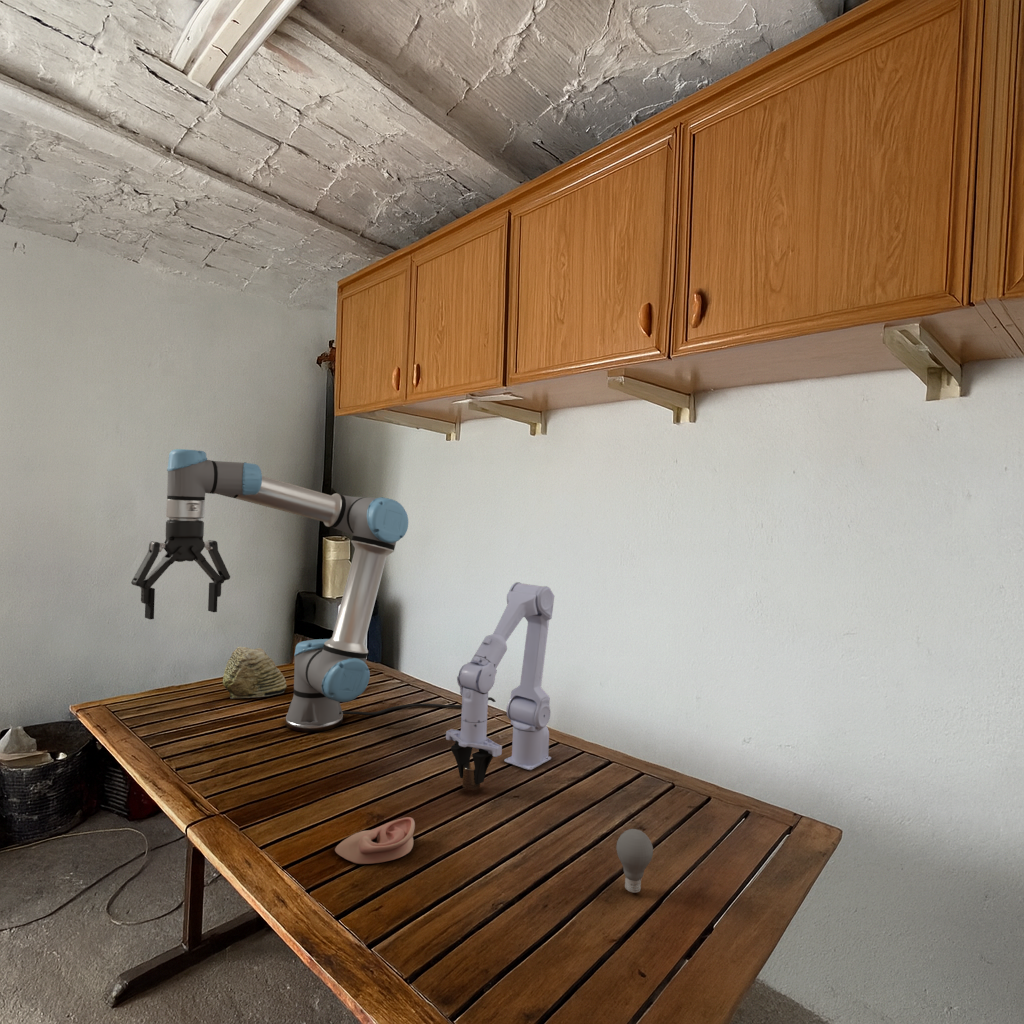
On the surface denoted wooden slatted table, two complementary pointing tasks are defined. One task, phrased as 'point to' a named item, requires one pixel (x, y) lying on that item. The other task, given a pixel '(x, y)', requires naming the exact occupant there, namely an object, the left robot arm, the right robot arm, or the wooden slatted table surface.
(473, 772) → the tin
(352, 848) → the anatomical model
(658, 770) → the wooden slatted table surface
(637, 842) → the light bulb
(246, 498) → the left robot arm
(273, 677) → the fossil
